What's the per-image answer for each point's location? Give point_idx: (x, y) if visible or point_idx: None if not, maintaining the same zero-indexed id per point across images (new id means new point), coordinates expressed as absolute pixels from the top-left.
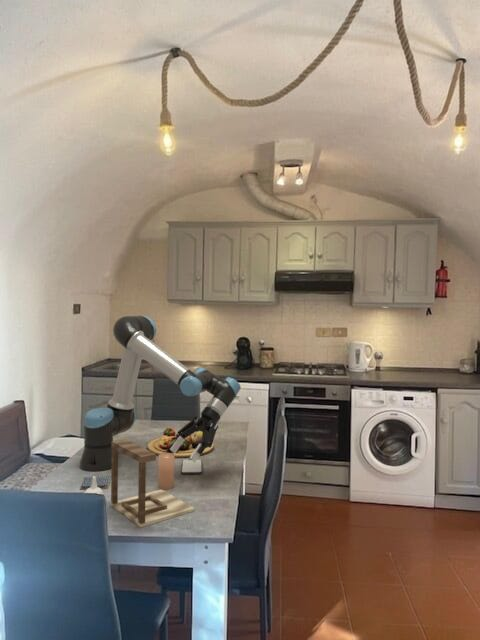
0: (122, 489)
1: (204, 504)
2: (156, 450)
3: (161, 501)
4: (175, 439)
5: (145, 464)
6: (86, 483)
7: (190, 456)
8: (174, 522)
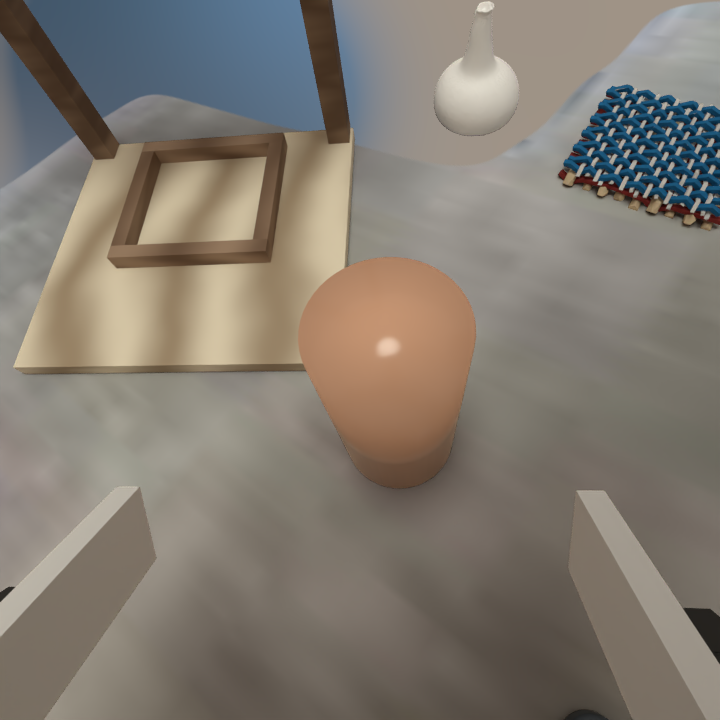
0: (509, 230)
1: (28, 465)
2: None
3: (199, 285)
4: None
5: None
6: (650, 107)
7: (129, 498)
8: (30, 255)
